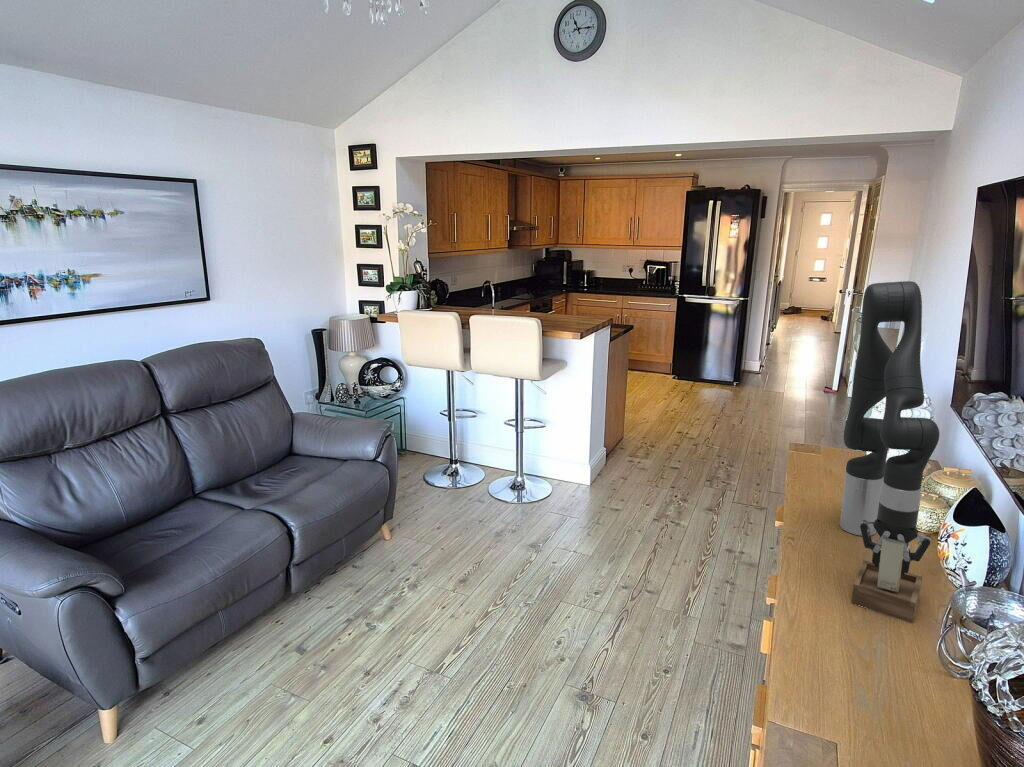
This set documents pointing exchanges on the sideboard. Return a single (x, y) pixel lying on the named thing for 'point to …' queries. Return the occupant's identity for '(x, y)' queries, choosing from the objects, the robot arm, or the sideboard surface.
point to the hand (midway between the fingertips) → (889, 568)
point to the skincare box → (890, 564)
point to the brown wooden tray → (886, 593)
